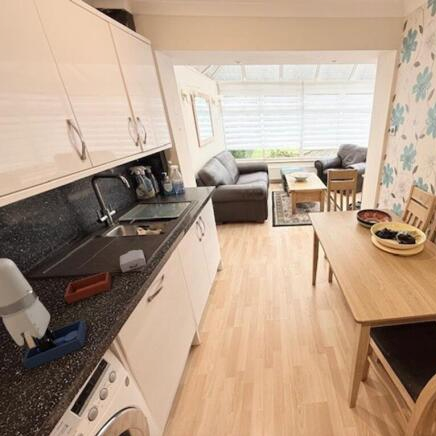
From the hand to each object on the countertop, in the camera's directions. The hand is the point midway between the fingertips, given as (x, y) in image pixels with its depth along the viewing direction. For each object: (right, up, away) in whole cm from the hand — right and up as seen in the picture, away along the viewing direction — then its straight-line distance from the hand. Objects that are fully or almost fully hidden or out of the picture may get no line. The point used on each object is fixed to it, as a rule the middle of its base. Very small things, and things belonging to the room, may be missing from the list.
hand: (51, 347), depth 72 cm
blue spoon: (+2, 0, +1) cm, 2 cm away
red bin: (-8, +10, +25) cm, 28 cm away
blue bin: (+2, -1, +2) cm, 2 cm away
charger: (-3, +18, +42) cm, 46 cm away
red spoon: (-9, +10, +25) cm, 28 cm away
